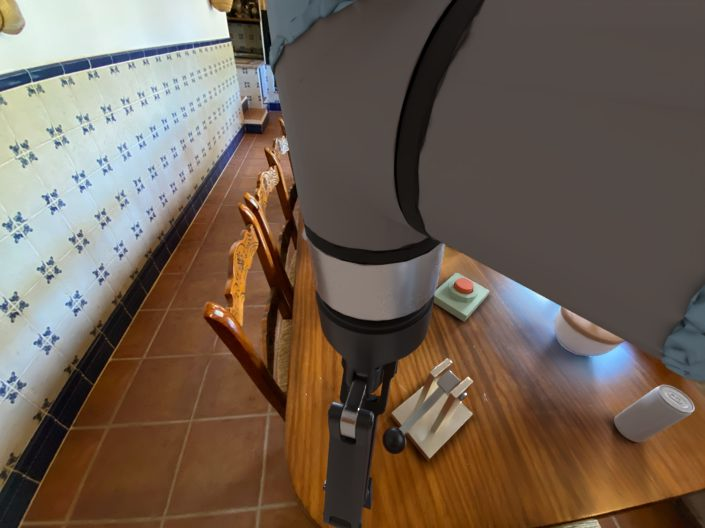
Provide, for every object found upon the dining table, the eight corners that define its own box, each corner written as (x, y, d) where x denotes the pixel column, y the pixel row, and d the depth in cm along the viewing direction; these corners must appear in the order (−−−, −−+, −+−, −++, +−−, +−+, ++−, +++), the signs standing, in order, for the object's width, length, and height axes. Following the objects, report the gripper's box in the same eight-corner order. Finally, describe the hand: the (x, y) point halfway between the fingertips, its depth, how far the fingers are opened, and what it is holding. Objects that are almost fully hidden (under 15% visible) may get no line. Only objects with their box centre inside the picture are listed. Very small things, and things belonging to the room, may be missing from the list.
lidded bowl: (570, 370, 64) (601, 339, 57) (532, 324, 73) (554, 293, 66) (617, 361, 66) (652, 331, 59) (574, 318, 76) (600, 287, 69)
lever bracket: (427, 461, 49) (450, 426, 40) (390, 416, 54) (403, 375, 45) (470, 417, 55) (498, 377, 46) (433, 380, 60) (452, 338, 51)
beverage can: (636, 449, 52) (690, 419, 45) (607, 424, 55) (652, 392, 48) (647, 434, 54) (700, 403, 47) (618, 411, 57) (664, 378, 50)
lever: (395, 460, 45) (391, 460, 42) (380, 439, 47) (374, 437, 44) (463, 387, 47) (463, 382, 45) (445, 371, 49) (444, 365, 47)
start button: (466, 297, 74) (468, 292, 73) (451, 288, 76) (452, 283, 75) (474, 288, 77) (476, 284, 76) (459, 280, 79) (461, 275, 78)
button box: (464, 322, 73) (469, 311, 70) (429, 300, 78) (433, 289, 75) (487, 296, 80) (492, 285, 78) (454, 277, 85) (458, 267, 83)
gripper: (365, 188, 29) (368, 327, 42) (188, 499, 10) (293, 568, 24) (445, 195, 27) (421, 338, 40) (403, 587, 8) (385, 608, 22)
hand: (374, 424), depth 32 cm, fingers open, 13 cm apart
